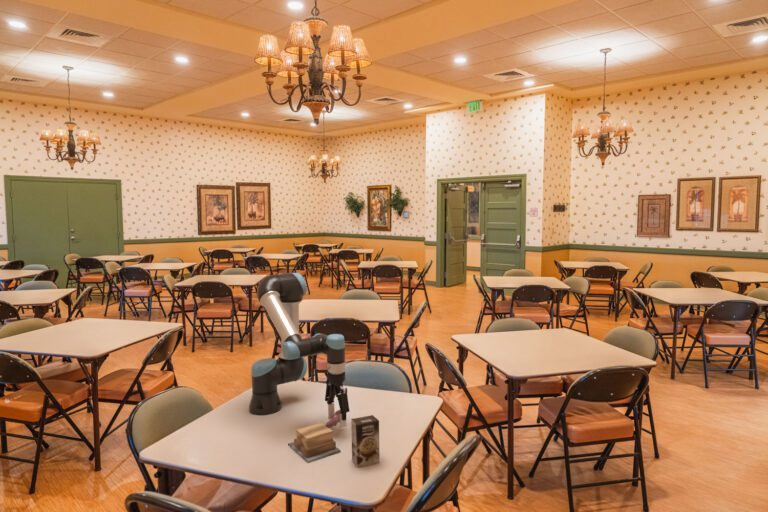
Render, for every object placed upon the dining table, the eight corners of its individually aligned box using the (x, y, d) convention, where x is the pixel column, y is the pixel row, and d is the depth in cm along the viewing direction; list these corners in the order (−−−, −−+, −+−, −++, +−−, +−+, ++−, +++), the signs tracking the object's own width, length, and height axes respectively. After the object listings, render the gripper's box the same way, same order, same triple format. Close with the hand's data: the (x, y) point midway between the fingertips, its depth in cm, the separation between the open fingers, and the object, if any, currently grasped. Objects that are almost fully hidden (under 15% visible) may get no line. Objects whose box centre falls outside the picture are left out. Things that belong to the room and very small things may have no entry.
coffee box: (357, 467, 179) (356, 425, 178) (351, 460, 185) (350, 418, 184) (380, 462, 183) (379, 420, 181) (373, 454, 189) (372, 414, 187)
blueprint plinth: (288, 445, 198) (287, 426, 197) (319, 435, 206) (318, 417, 205) (307, 463, 183) (307, 442, 183) (340, 452, 191) (339, 432, 191)
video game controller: (333, 432, 203) (340, 419, 202) (324, 427, 204) (331, 413, 203) (341, 422, 213) (347, 409, 212) (332, 417, 214) (338, 404, 212)
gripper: (316, 366, 214) (317, 416, 216) (341, 380, 196) (342, 434, 198) (331, 363, 218) (332, 411, 220) (357, 377, 200) (358, 429, 202)
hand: (337, 422), depth 209 cm, fingers closed on video game controller, 9 cm apart
